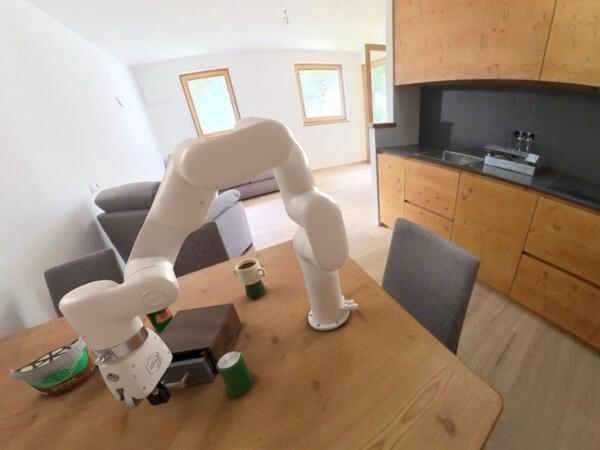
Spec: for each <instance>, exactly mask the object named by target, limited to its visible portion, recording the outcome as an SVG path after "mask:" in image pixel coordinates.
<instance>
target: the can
mask: <svg viewBox="0 0 600 450" xmlns="http://www.w3.org/2000/svg"><path fill="white" fill-rule="evenodd" d="M216 367H217V370H218V371H217V372H218V373H219V376H220V377H221V379H222V382H223V384H224V385H225V387H226V389H227V391H228V393H229V394H230V395H231V396H232V397H238V396H241V395H243V394H245V393H246V392H248V390H249V389H250V388H251V387H252V385H253V377H252V375H251V372H250V369H249V367H248V366H247V363H246V360H245V358H244V356H243V354H242V352H241V351H238V350H231V351H230V352H229V353H227V354H225V355H224V356H222V357H221V358H220V359H219V361H218V362H217V365H216Z"/></svg>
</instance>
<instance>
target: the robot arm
mask: <svg viewBox="0 0 600 450" xmlns="http://www.w3.org/2000/svg"><path fill="white" fill-rule="evenodd" d="M270 170H271V173H272V174H273V177H274V179H275V182H276V184H277V187H278V190H279V192H280V193H279V194H280V196H281V199H282V202H283V203H282V204H283V206H284V209H285V212H286V215H287V217H288V218H289V219H290V220H291V221H292V222H294V223H295V224H297V225H298V227H297V228H296V230H295V231H294V233H293V235H292V247H293V250H294V253H295V256H296V258H297V260H298V263H299V266H300V269H301V273H302V276H303V282H304V285H305V289H306V293H307V297H308V301H309V306H310V311H309V312H308V315H307V319H308V324H309V325H310V327H311V328H313V329H314V330H318V331H330V330H334V329H337V328H338V327H340V326H341V325H343V324H344V323H345V322H346V321H347V319H348V318H349V317H350V312H351V311H359V304H358V303H355V299H349V300H347V299H345V295H342V290H341V284H340V279H339V272H338V271H339V270H340V269H341V268H342V267H343V266H344V265H345V264H346V263H347V260H348V257H349V253H350V252H349V251H350V249H349V248H350V247H349V241H348V240H349V239H348V236H347V231H346V226H345V221H344V217H343V213H342V210H341V208H340V206H339V205H338V203H337V201H336V200H335V199H334V198H333V197H331V196H329V194H326V193H324V192H321V191H320V190H319V188H318V186H317V182H316V179H315V175H314V173H313V170H312V166H311V164H310V160H309V159H308V156H307V154H306V153H305V151H304V150H303V148H302V147H301V146H300V145H299V143H298V142H297V141H296V140H295V138H294V135H293V133H292V131H291V130H290V129H289V127H287V126H286V124H284V123H283V122H281V121H278V120H277V119H273V118H265V117H258V116H246V117H243V118H241V119H239V120H237V121H236V123H235V124H234V125H233V128H232V132H228V133H225V134H222V135H219V136H216V137H212V138H209V139H208V138H204V137H188V138H185V139H182V140H181V141H180V142H179V143H178V144H176V146H175V147H174V150H173V151H172V153H171V156H170V159H169V161H168V163H167V166H166V169H165V171H164V174H163V176H162V179H161V181H160V184H159V186H158V189H157V192H156V194H155V197H154V199H153V202H152V204H151V207H150V209H149V211H148V213H147V215H146V217H145V220H144V222H143V225H142V226H141V228H140V229H139V233H138V234H137V236H136V239H135V241H134V243H133V247H132V249H131V252H130V255H129V256H128V260H127V262H126V264H125V268H124V272H123V282H122V283H118V282H116V281H114V280H112V279H111V280H109V279H102V280H96V281H95V280H94V281H92V282H88V283H86V284H82V285H80V286H78V287H76V288H74V289H72V290H71V291H69V292H67V293H65V295H64V296H63V297H62V298H61V299H60V300H59V303H58V309H59V311H60V313H61V315H63V317H64V318H65V319H66V321H67V322H68V323H69V324H70V326H71V327H72V328H73V330H74V331H75V332H76V334H77V335H78V337H79V336H80V337H81V339H82V340H83V341H84V343H85V344H86V347H87V349H89V351H90V352H91V353H92V354H93V356H94V357H95V360H94V364H95V366H98V369H99V371H100V375H101V377H102V379H103V381H104V383H105V384H106V386H107V388H108V389H109V391H110V393H111V394H112V395H113V397H114V398H115V399H116V400H117V401H118V402H120V403H123V402H125V404H126V407H127V409H134V408H138V406H139V405H141V403H142V402H143V401H144V399H146V400H147V401H148V403H149V404H150V405H151V406H154V407H155V406H159V405H164V404H165V405H166V404H168V402H169V401H170V399H171V397H172V393H171V392H170V390H168V388H167V387H166V385H165V384H164V383H165V377H164V375H163V374H164V372H165V371H166V369H167V367H168V366H169V364H170V362H171V360H172V354H171V352H170V351H169V349H168V347H167V346H166V345H165V343H164V342H163V341H162V340H161V338H160V337H159V335H158V334H157V332H156V331H154V330H152V329H151V328H149V327H146V325H145V324H144V322H143V321H142V319H141V318H140V316H144V315H145V316H146V314H149V313H153V312H156V311H159V310H162V309H164V308H167V307H168V308H169V307H170V306H171V305H173V304H174V303H175V302H176V301H177V299H178V297H179V295H180V285H179V282H178V279H177V276H176V274H175V272H174V271H175V270H174V266H175V263H176V261H177V258H178V256H179V253H180V250H181V247H183V244H184V242H185V241H186V239H187V237H189V235H190V234H191V233H193V232H195V231H197V230H199V229H200V228H202V227H204V225H205V223H206V221H207V219H208V217H209V214H210V211H211V209H212V205H213V203H214V201H215V198H216V195H217V193H218V191H223V190H226V189H229V188H232V187H235V186H237V185H239V184H241V183H244V182H247V181H249V180H251V179H253V178H255V177H258V176H260V175H262V174H264V173H266V172H269V171H270Z"/></svg>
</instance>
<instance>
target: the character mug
mask: <svg viewBox="0 0 600 450" xmlns="http://www.w3.org/2000/svg"><path fill="white" fill-rule="evenodd" d="M232 273H233V276H234V277H235V278H238V280H239V283H240V284H241V285H242V286H244V290H245V294H246V298H247V299H249V300H256V299H259V298H261V297H263V296H264V295H265V294H266V292H267V288H266V286H265V285H264V283H263V281H262V277H266V276H267V272H266V269H265V267H261V265H260V263H259V260H258V259H257V258H254V257H252V258H251V257H250V258H246V259H243V260H241V261H239V262H238V263H236V265H235V266H234V268H232Z"/></svg>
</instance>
